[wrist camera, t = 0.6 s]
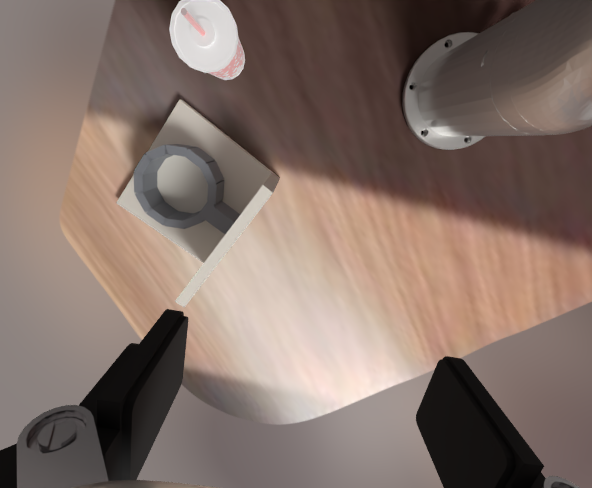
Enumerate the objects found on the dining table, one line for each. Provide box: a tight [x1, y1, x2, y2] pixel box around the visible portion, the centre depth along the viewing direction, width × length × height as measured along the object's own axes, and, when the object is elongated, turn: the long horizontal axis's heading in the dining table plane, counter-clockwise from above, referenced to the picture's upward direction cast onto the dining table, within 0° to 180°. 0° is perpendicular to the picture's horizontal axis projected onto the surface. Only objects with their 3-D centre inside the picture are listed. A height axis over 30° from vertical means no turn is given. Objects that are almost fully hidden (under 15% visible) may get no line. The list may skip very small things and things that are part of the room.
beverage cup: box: [169, 0, 245, 80], centre depth 30 cm, size 6×6×14 cm
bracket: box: [117, 99, 280, 307], centre depth 36 cm, size 16×15×12 cm
